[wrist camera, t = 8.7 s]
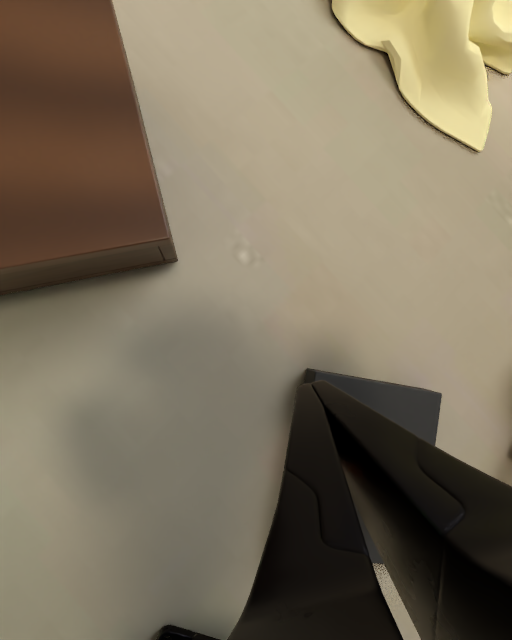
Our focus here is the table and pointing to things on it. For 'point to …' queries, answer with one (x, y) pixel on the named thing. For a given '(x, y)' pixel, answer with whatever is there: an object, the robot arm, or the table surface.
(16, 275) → the tea box
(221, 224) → the table surface
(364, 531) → the button block
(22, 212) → the lid
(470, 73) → the cloth
